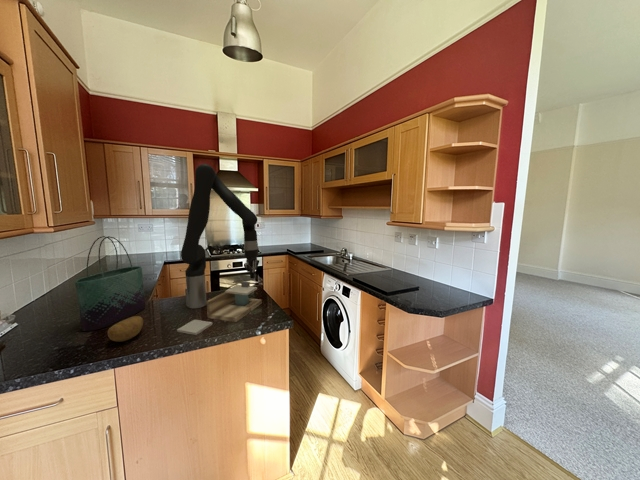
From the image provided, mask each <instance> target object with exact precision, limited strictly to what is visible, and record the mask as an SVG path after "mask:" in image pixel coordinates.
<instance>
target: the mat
mask: <svg viewBox="0 0 640 480" xmlns="http://www.w3.org/2000/svg"><path fill="white" fill-rule="evenodd" d="M212 325H213V321H207V320H206V321H205V320H200V319H193V320H191V321H189V322H188V323H185V325H183V326H180V327H179V328H177V329H176V332H177V333H184V334H187V335H188V334H189V335H194V336H197V335H198V334H200V333H202V332H204V331H205V330H206V329H207V328H210V327H211V326H212Z"/></svg>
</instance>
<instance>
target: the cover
mask: <svg viewBox="0 0 640 480" xmlns="http://www.w3.org/2000/svg"><path fill="white" fill-rule="evenodd" d="M240 283H241V284H235V285H234V286H232V287H230V288H228V289H226V290H225V291H224V292H225V293H232V294H240V295H248V296H249V295H250V294H251V293H253V292H255V291H256V290H258V287H256V286H251V283H250V281H242V282H240Z"/></svg>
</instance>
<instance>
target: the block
mask: <svg viewBox="0 0 640 480" xmlns="http://www.w3.org/2000/svg"><path fill="white" fill-rule="evenodd" d="M249 298H250V297H249V294H248V295H240V294H235V305H237V306H246V305H247V304H249Z"/></svg>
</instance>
